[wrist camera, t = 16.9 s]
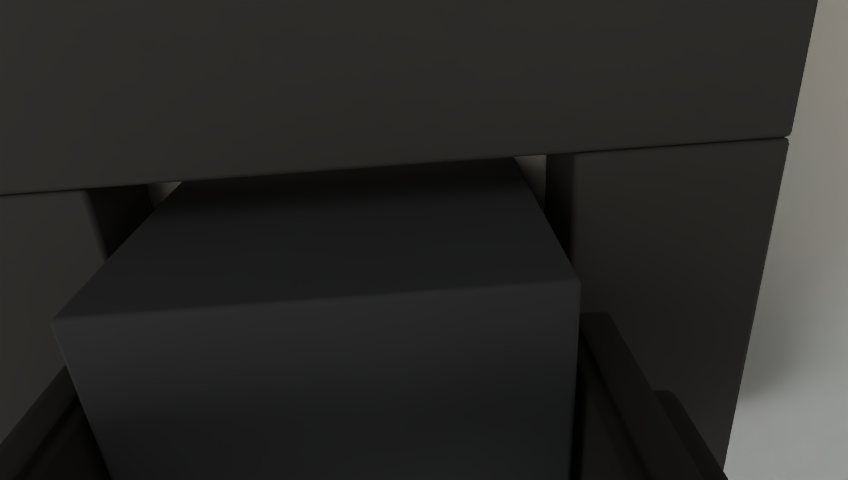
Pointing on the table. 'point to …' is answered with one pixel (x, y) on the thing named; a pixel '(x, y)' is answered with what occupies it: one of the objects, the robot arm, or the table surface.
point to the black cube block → (333, 331)
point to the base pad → (416, 143)
